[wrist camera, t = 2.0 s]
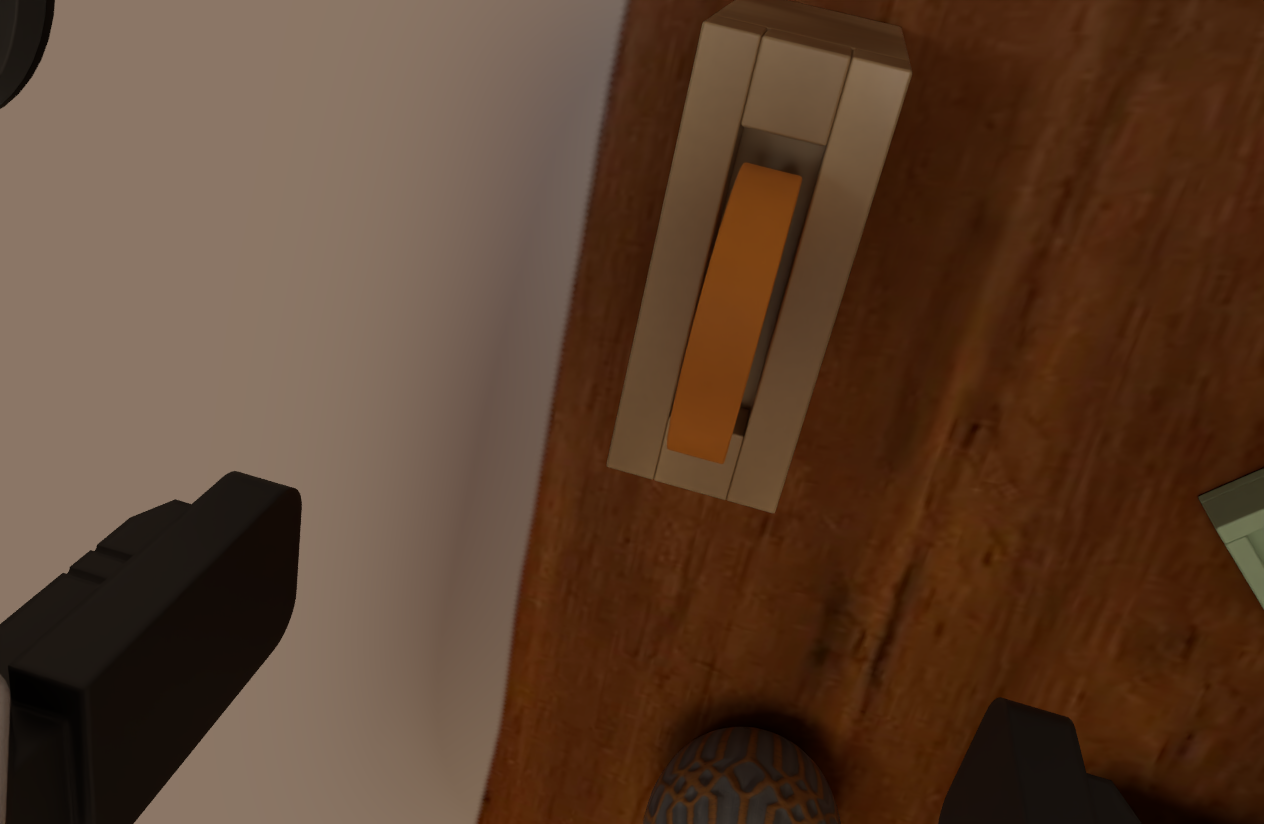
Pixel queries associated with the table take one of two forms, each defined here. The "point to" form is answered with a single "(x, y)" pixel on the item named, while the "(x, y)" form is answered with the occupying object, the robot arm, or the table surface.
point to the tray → (1241, 525)
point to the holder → (816, 242)
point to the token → (732, 311)
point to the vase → (741, 783)
